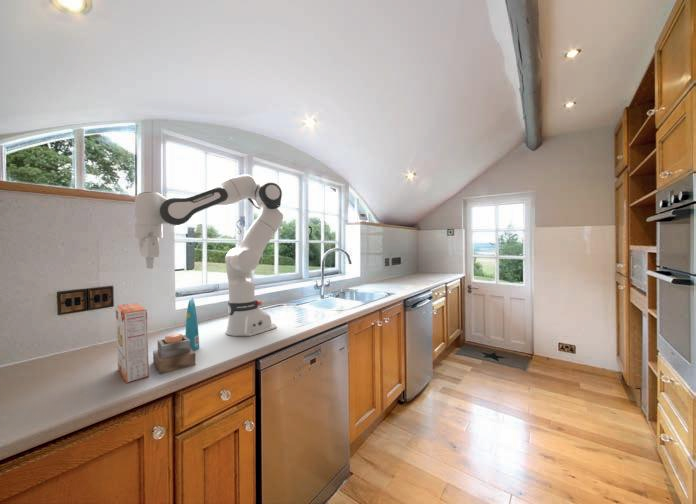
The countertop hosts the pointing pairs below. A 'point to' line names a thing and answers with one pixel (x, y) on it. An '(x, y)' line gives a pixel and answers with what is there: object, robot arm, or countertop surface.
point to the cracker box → (132, 341)
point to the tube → (192, 326)
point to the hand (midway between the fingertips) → (149, 268)
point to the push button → (173, 338)
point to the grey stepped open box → (173, 355)
